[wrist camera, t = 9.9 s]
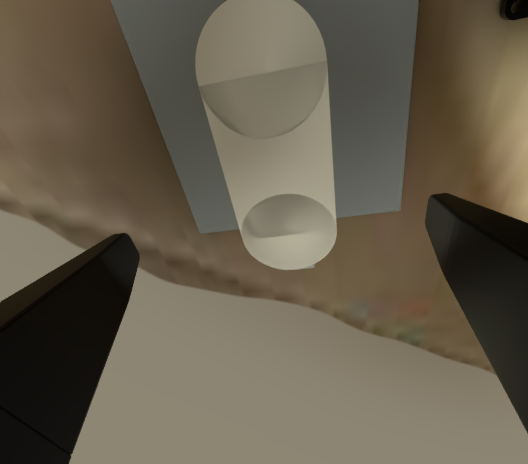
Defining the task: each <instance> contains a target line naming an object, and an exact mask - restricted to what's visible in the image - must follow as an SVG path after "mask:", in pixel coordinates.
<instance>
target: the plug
mask: <svg viewBox="0 0 528 464" xmlns="http://www.w3.org/2000/svg"><path fill="white" fill-rule="evenodd" d="M195 69H196V78H197V82H198V86H199V90H200V93H201V97H202V100H203V104H204V107H205V111H206V114H207V118H208V121H209V125H210V128H211V132H212V135H213V139H214V142H215V146H216V149H217V153H218V156H219V160H220V163H221V166H222V170H223V173H224V177H225V180H226V184H227V187H228V191H229V194H230V198H231V201H232V205H233V208H234V212H235V215H236V219H237V222H238V226H239V229H240V233H241V236H242V240H243V242H244V245H245V247H246V249H247V250H248V251H249V253H250V254H251V255H252V256H253V257H254V258H255V259H257V260H258V261H260V262H261V263H263V264H265V265H267V266H270V267H273V268H277V269H283V270H295V269H305V268H315V267H314V264H315V263H317V262H319V261H320V260H322V259H323V258H324V257H325V256H326V255H327V254H328V253H329V252H330V250H331V249H332V247H333V246H334V243H335V240H336V236H337V225H336V208H335V190H334V173H333V155H332V138H331V121H330V103H329V86H328V69H327V56H326V49H325V45H324V41H323V38H322V36H321V33H320V31H319V29H318V27H317V25H316V23H315V22H314V20H313V19H312V17H311V16H310V15H309V13H308V12H307V11H306V10H305V9H304V8H303V7H302V6H301V5H299V4H298V3H297V2H295V1H294V0H227V1H225V2H224V3H223V4H221V5H220V6H219V7H218V8H217V9H216V10H215V11H214V12H213V13H212V15H211V16H210V18H209V19H208V20H207V22H206V24H205V26H204V27H203V29H202V32H201V35H200V37H199V40H198V44H197V49H196V57H195Z"/></svg>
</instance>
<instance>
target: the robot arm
mask: <svg viewBox="0 0 528 464" xmlns="http://www.w3.org/2000/svg"><path fill="white" fill-rule="evenodd" d="M515 1H518V2H519V6H518V8H517V9H516V10H515V11H514V12H513V13H512V12H511V7H512V5H513V3H514V2H515ZM500 15H501V17H502V18H503V19H505V20H517V19H522V18H527V17H528V0H502V3H501V8H500ZM425 225H426V229H427V232H428V235H429V237H430V240H431V243H432V245H433V248H434V251H435V253H436V256H437V259H438V262H439V264H440V267H441V269H442V272H443V274H444V276H445V278H446V280H447V282H448V284H449V286H450V288H451V290H452V291H453V293H454V295H455V297H456V299H457V301H458V303H459V305H460V307H461V308H462V310H463V312H464V314H465V316H466V318H467V320H468V322H469V324H470V325H471V327H472V329H473V331H474V333H475V335H476V337H477V339H478V340H479V342H480V344H481V346H482V348H483V350H484V352H485V354H486V356H487V357H488V359H489V361H490V363H491V365H492V367H493V369H494V371H495V373H496V374H497V376H498V378H499V380H500V382H501V384H502V386H503V388H504V389H505V391H506V393H507V395H508V397H509V399H510V401H511V403H512V405H513V406H514V408H515V410H516V412H517V414H518V416H519V418H520V419H521V421H522V423H523V425H524V427H525V429H526V431H527V433H528V223H526V222H524V221H521V220H518V219H516V218H513V217H510V216H507V215H505V214H502V213H499V212H497V211H494V210H491V209H489V208H486V207H483V206H481V205H478V204H475V203H473V202H470V201H467V200H465V199H462V198H459V197H457V196H454V195H451V194H449V193H441V194H434V195H431V196H430V197H429V200H428V205H427V212H426V219H425ZM139 258H140V257H139V252H138V250H137V249H136V247H135V245H134V243H133V241H132V240H131V238H130V236H129V235H128V234H126V233H120V234H114V235H112V236H110V237H108V238H107V239H105V240H103V241H101V242H100V243H98V244H96V245H95V246H93V247H91V248H90V249H88V250H86V251H85V252H83V253H82V254H80V255H78V256H76V257H75V258H73V259H71V260H70V261H68V262H66V263H65V264H63V265H61V266H60V267H58V268H56V269H55V270H53V271H51V272H50V273H48V274H46V275H45V276H43V277H41V278H40V279H38V280H36V281H35V282H33V283H31V284H30V285H28V286H26V287H24V288H23V289H21V290H19V291H18V292H16V293H15V294H13V295H11V296H9V297H8V298H6V299H4V300H3V301H1V302H0V464H69V461H70V459H71V454H72V453H73V450H74V448H75V445H76V442H77V439H78V437H79V434H80V431H81V428H82V426H83V423H84V421H85V418H86V415H87V413H88V410H89V407H90V404H91V402H92V399H93V396H94V394H95V391H96V388H97V386H98V383H99V380H100V377H101V375H102V372H103V370H104V367H105V364H106V361H107V359H108V356H109V353H110V351H111V348H112V345H113V343H114V340H115V337H116V335H117V332H118V329H119V326H120V324H121V321H122V318H123V315H124V313H125V310H126V308H127V305H128V302H129V299H130V295H131V291H132V287H133V283H134V279H135V276H136V272H137V268H138V264H139Z"/></svg>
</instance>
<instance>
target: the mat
mask: <svg viewBox="0 0 528 464" xmlns="http://www.w3.org/2000/svg"><path fill="white" fill-rule="evenodd" d="M225 1H227V0H111V3H112V6H113V8H114V11H115V13H116V16H117V19H118V21H119V24H120V26H121V29H122V32H123V34H124V37H125V39H126V42H127V45H128V47H129V50H130V52H131V55H132V58H133V60H134V63H135V65H136V68H137V71H138V73H139V76H140V78H141V81H142V84H143V86H144V89H145V91H146V94H147V97H148V99H149V102H150V104H151V107H152V110H153V112H154V115H155V117H156V120H157V123H158V125H159V128H160V130H161V133H162V136H163V138H164V141H165V143H166V146H167V149H168V151H169V154H170V156H171V159H172V162H173V164H174V167H175V169H176V172H177V175H178V177H179V180H180V182H181V185H182V188H183V190H184V193H185V195H186V198H187V201H188V203H189V206H190V208H191V211H192V214H193V216H194V219H195V221H196V224H197V227H198V229H199V232H200V234H203V233H211V232H220V231H228V230H237V229H239V226H238V222H237V219H236V215H235V212H234V208H233V205H232V201H231V198H230V194H229V191H228V187H227V184H226V180H225V177H224V173H223V170H222V166H221V163H220V160H219V156H218V153H217V149H216V146H215V142H214V139H213V135H212V132H211V128H210V125H209V121H208V118H207V114H206V111H205V107H204V104H203V100H202V97H201V93H200V90H199V86H198V82H197V78H196V69H195V57H196V49H197V44H198V40H199V37H200V35H201V32H202V29H203V27H204V26H205V24H206V22H207V20H208V19H209V18H210V16H211V15H212V13H213V12H214V11H215V10H216V9H217V8H218V7H219V6H220V5H221V4H223V3H224V2H225ZM294 1H295V2H297V3H298V4H299V5H301V6H302V7H303V8H304V9H305V10H306V11H307V12H308V13H309V15H310V16H311V17H312V19H313V20H314V22H315V23H316V25H317V27H318V29H319V31H320V33H321V36H322V38H323V41H324V45H325V49H326V56H327V69H328V86H329V103H330V121H331V138H332V155H333V173H334V190H335V208H336V218H340V217H349V216H358V215H366V214H375V213H383V212H392V211H400V209H401V198H402V186H403V175H404V164H405V152H406V141H407V130H408V118H409V107H410V96H411V85H412V73H413V62H414V51H415V39H416V28H417V17H418V5H419V0H294Z"/></svg>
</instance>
